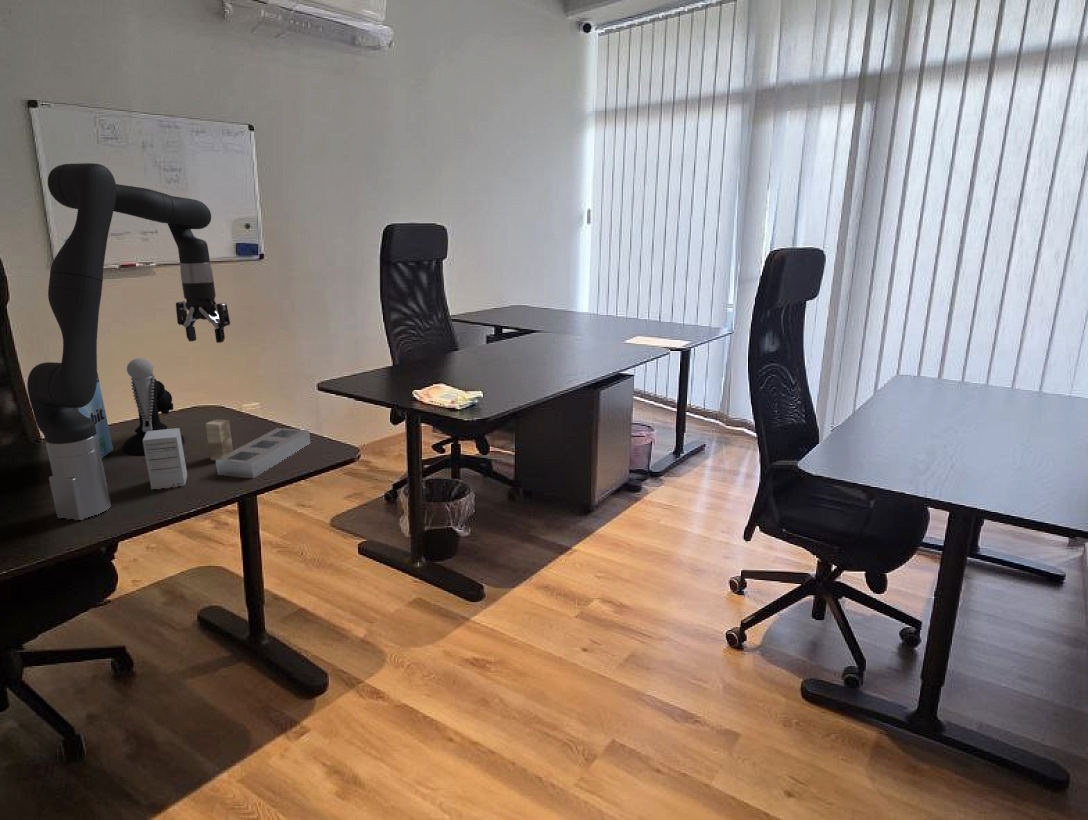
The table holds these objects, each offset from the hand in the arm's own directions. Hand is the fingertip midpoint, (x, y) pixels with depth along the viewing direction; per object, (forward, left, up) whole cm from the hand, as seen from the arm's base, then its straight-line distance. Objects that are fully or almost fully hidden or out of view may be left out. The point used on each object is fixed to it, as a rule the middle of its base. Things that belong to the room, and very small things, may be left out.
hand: (206, 341), depth 188 cm
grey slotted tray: (-7, -19, -29) cm, 36 cm away
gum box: (-20, +25, -30) cm, 43 cm away
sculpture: (-1, +20, -30) cm, 36 cm away
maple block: (-9, -7, -29) cm, 31 cm away
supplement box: (-27, -6, -30) cm, 40 cm away
